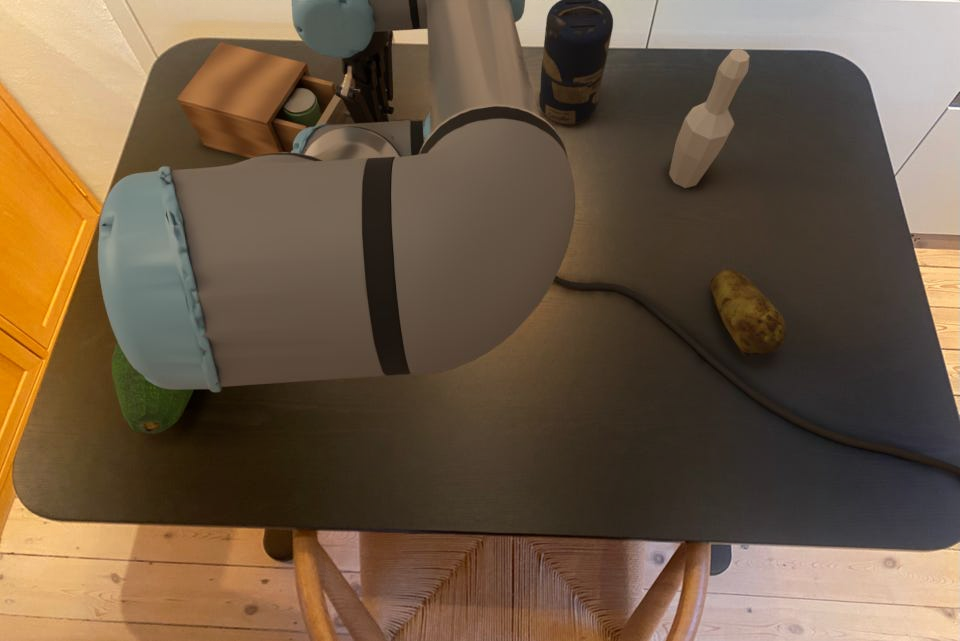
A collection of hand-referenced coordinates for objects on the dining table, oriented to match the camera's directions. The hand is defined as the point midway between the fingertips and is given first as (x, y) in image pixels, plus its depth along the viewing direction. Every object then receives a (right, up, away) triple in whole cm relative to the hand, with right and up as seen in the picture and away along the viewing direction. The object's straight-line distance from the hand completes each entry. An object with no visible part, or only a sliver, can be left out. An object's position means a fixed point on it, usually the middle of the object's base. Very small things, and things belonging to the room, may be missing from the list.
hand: (383, 148), depth 92 cm
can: (-12, +3, +2) cm, 12 cm away
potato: (+49, -27, -11) cm, 57 cm away
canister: (+29, +9, +7) cm, 31 cm away
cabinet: (-20, +5, +5) cm, 21 cm away
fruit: (-24, -35, -15) cm, 45 cm away
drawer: (-10, +2, +3) cm, 11 cm away
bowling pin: (+46, -4, 0) cm, 46 cm away
